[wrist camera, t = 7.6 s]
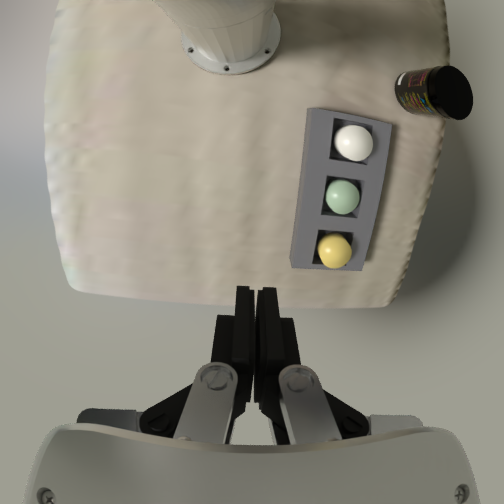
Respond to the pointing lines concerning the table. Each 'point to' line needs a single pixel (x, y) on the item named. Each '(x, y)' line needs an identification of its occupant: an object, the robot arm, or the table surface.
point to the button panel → (325, 169)
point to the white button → (353, 142)
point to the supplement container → (435, 92)
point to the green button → (341, 195)
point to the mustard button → (334, 250)
